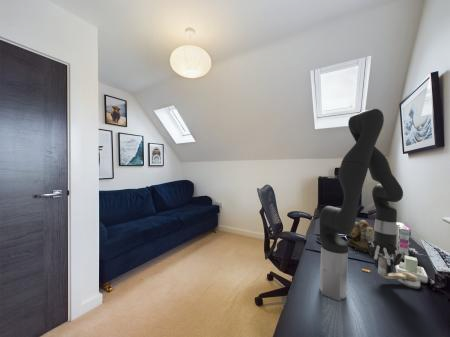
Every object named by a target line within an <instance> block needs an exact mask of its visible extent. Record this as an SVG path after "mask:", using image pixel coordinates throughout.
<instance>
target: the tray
mask: <svg viewBox="0 0 450 337" xmlns="http://www.w3.org/2000/svg"><path fill="white" fill-rule="evenodd" d="M394 268H395V273H402V272H408V273H411V274H414V275H415V276H417V279H418V280H419V281H420V282H421V283H424V284H428V278H429V276H428V275H427V272H426V270H425V269H424V267H422V266H418V265H417V273H414V272H410V271H406V270H404V262H402V261H401V262H400V264H399V265H396V266H395V267H394Z"/></svg>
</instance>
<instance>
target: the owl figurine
mask: <svg viewBox="0 0 450 337" xmlns="http://www.w3.org/2000/svg"><path fill="white" fill-rule="evenodd" d="M347 236H348V237H349V238H352V239H350V240H348V241H346V242H347V244H348V245H349V246H348V247H350V246H351V248H353V247H354V248H356V249H359V250H362V251H366V252H369V250H368V247H367V242H373V241H374V228H373V227H371V226H370V225H369V223H368V222H367V221H366V220H364V219H362V220H361V219H360V220H359V222H357V221H356V222H355V226H354V228H353V230H352V232H351V233H350V234H348V235H347ZM354 248H353V249H354ZM356 249H355V250H356ZM374 249H375V251H376V248H375V246H374ZM359 250H358V251H359ZM362 251H361V252H362ZM366 252H365V253H366Z"/></svg>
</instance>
